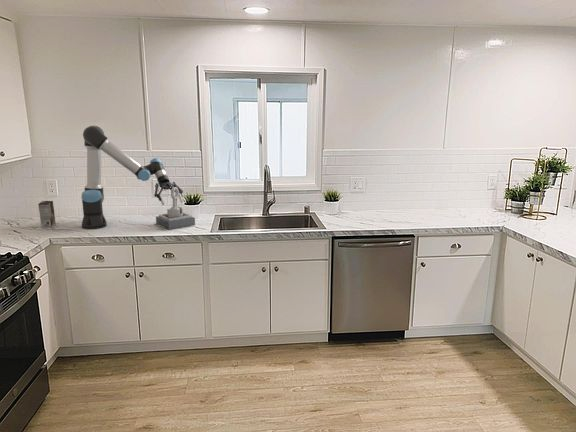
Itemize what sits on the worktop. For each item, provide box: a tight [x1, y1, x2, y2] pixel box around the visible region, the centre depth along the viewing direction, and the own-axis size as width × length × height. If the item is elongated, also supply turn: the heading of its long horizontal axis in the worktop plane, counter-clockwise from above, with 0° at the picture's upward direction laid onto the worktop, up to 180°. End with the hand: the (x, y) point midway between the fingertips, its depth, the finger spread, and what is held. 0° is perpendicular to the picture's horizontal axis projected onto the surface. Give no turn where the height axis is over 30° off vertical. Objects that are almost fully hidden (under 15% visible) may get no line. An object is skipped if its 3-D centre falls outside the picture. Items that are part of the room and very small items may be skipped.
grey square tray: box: [155, 212, 196, 230], centre depth 290 cm, size 19×19×6 cm
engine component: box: [166, 187, 184, 218], centre depth 287 cm, size 11×20×10 cm
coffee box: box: [37, 200, 56, 229], centre depth 280 cm, size 9×6×16 cm
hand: (173, 203), depth 289 cm, fingers open, 13 cm apart
